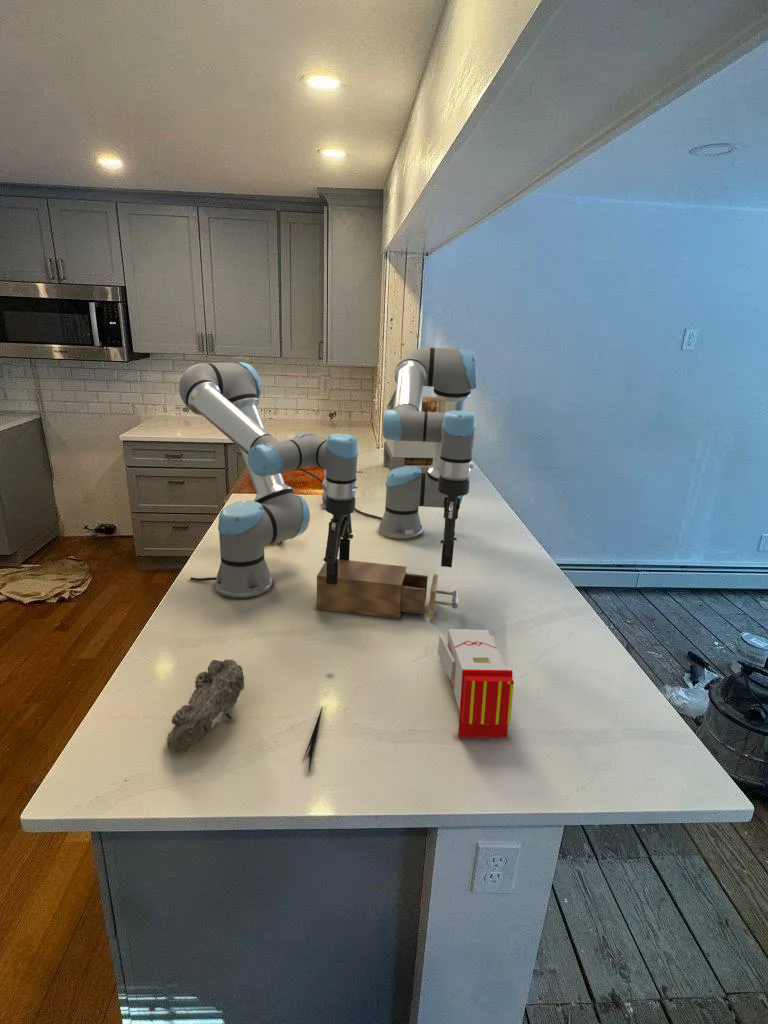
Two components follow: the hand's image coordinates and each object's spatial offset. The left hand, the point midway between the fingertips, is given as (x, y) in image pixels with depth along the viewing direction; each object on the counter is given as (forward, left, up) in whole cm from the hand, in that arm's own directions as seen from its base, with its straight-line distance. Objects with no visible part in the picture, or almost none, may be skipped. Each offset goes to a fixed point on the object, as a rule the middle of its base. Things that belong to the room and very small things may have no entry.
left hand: (338, 571), depth 150 cm
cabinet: (+7, 0, -9) cm, 11 cm away
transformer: (+1, +133, -9) cm, 133 cm away
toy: (+38, -29, -9) cm, 49 cm away
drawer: (+19, +1, -8) cm, 20 cm away
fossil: (-9, -51, -9) cm, 52 cm away
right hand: (+28, +1, +5) cm, 29 cm away
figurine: (-25, +72, -9) cm, 77 cm away
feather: (+10, -46, -9) cm, 48 cm away
